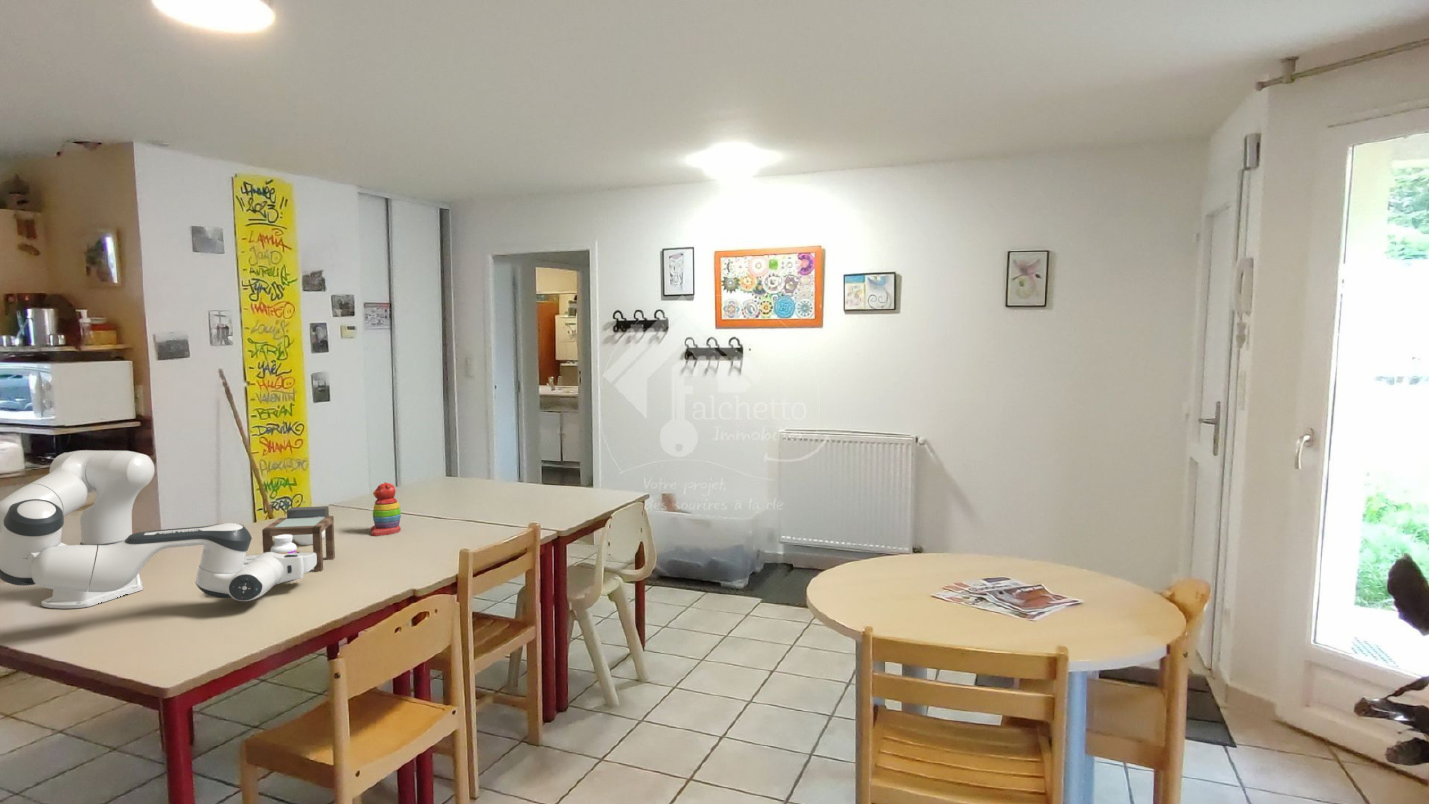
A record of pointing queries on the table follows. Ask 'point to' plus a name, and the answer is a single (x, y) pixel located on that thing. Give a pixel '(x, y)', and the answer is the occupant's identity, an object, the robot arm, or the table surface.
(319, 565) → the miniature wooden table
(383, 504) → the stacking bear
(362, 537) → the table surface
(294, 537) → the lidded bowl
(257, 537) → the table surface
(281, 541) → the supplement bottle
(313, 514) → the trapdoor
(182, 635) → the table surface
